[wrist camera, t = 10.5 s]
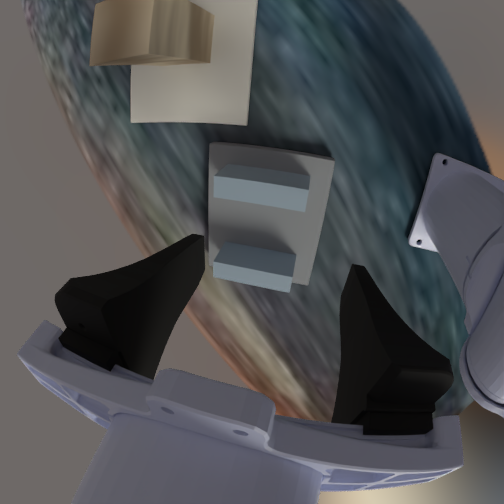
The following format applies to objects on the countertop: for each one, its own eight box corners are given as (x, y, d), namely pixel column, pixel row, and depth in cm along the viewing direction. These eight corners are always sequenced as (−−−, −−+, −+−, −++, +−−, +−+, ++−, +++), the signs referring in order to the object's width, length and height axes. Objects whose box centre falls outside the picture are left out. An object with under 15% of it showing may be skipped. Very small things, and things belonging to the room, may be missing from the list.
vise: (334, 157, 18) (337, 173, 15) (308, 278, 25) (305, 309, 21) (214, 141, 20) (192, 153, 17) (212, 259, 26) (196, 286, 23)
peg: (214, 15, 14) (156, -16, 7) (210, 63, 16) (148, 53, 10) (165, 21, 14) (95, 4, 8) (162, 66, 17) (89, 66, 10)
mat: (261, -39, 11) (260, -41, 10) (247, 125, 19) (246, 125, 18) (143, -21, 12) (140, -22, 12) (133, 122, 20) (130, 122, 20)
